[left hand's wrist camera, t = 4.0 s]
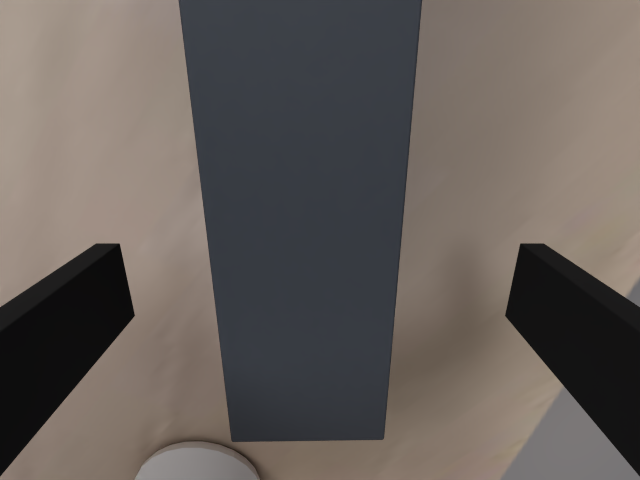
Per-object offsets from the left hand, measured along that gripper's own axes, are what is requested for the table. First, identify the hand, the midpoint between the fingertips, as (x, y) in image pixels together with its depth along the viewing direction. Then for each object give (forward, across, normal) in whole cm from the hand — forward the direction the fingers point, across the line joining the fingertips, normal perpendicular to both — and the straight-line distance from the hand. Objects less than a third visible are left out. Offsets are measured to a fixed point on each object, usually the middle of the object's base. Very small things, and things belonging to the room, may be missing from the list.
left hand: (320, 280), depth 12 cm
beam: (+6, 0, -20) cm, 21 cm away
